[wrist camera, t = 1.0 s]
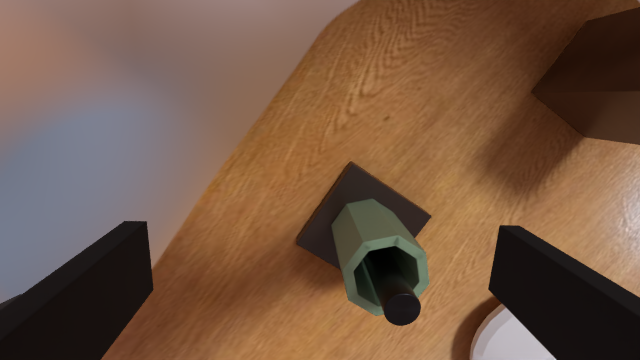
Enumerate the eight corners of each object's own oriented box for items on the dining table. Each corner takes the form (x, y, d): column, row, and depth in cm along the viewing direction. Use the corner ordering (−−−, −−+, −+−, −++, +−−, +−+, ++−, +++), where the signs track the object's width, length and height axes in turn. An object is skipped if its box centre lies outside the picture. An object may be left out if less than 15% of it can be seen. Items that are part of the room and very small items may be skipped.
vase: (434, 330, 39) (462, 380, 32) (548, 251, 37) (604, 286, 30) (500, 409, 43) (538, 469, 36) (607, 341, 41) (669, 390, 34)
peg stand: (350, 160, 33) (387, 207, 19) (426, 211, 35) (510, 287, 21) (296, 238, 35) (294, 332, 21) (371, 282, 37) (415, 396, 23)
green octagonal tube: (357, 188, 33) (378, 222, 24) (407, 221, 34) (445, 264, 25) (320, 239, 34) (328, 289, 25) (370, 269, 35) (394, 327, 26)
